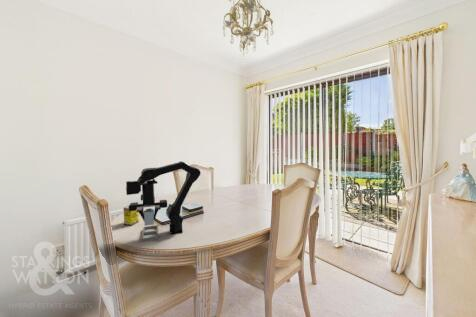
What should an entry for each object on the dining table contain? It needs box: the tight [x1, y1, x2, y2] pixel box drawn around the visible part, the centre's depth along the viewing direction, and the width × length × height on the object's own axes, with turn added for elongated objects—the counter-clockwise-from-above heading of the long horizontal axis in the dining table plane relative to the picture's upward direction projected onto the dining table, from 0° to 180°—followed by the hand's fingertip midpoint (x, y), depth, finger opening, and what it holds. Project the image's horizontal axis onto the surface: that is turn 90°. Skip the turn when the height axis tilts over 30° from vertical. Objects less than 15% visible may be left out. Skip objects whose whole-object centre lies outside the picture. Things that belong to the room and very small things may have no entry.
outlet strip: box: [139, 224, 159, 242], centre depth 117 cm, size 9×15×2 cm, turn 19°
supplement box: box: [123, 205, 139, 227], centre depth 130 cm, size 6×6×11 cm
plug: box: [143, 207, 155, 227], centre depth 112 cm, size 4×4×8 cm
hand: (149, 220), depth 112 cm, fingers closed on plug, 4 cm apart
